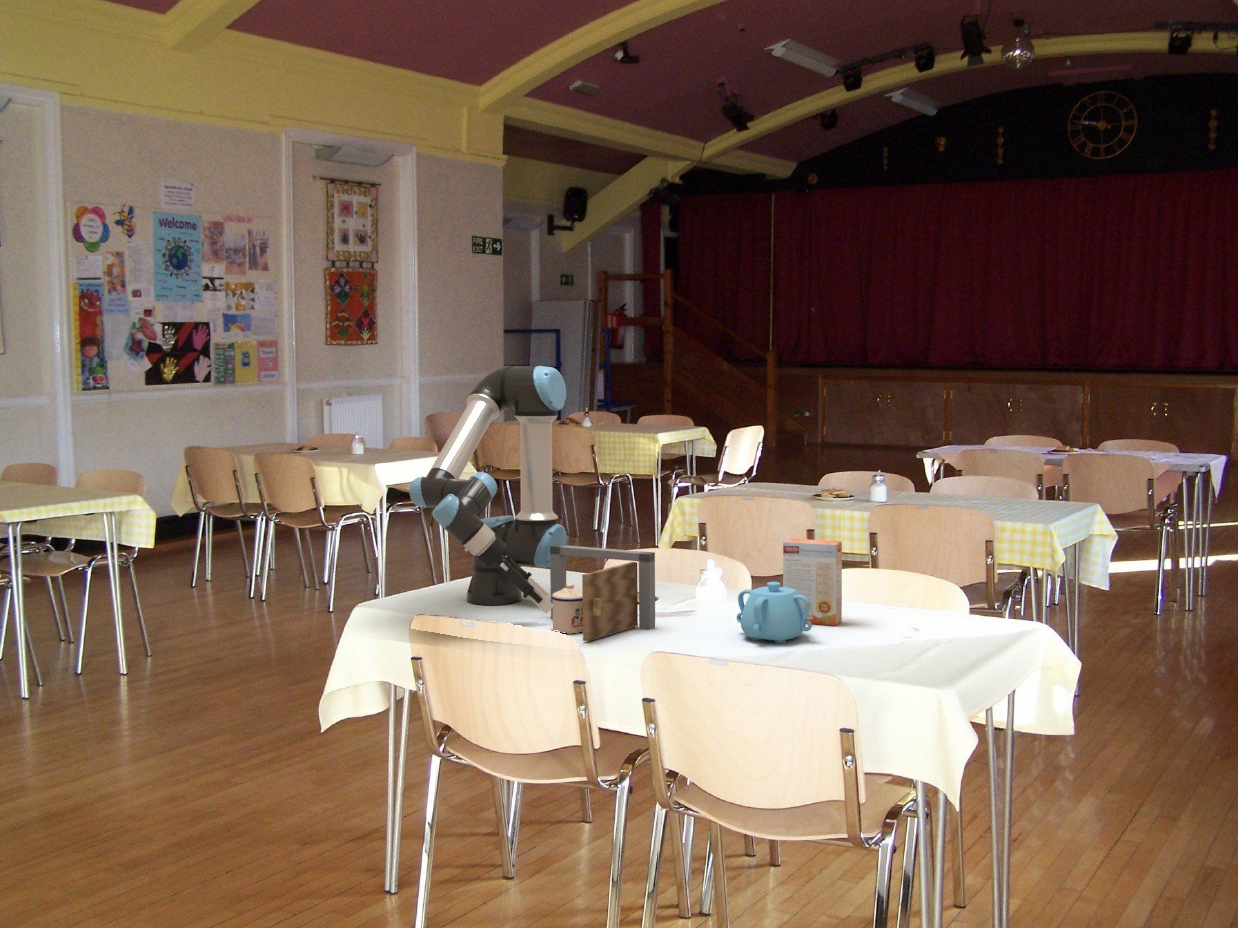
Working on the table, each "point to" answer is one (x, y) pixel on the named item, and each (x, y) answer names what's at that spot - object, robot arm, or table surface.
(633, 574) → the door
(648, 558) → the door frame
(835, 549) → the cracker box
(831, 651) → the table surface
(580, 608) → the teacup with lid
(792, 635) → the decorative pot
